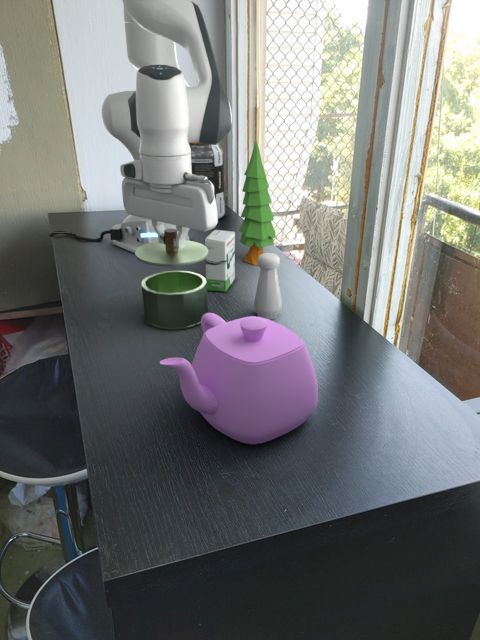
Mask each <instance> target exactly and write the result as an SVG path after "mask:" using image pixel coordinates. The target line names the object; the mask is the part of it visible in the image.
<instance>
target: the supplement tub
mask: <svg viewBox="0 0 480 640" xmlns="http://www.w3.org/2000/svg"><path fill="white" fill-rule="evenodd" d="M189 146H190V149H191V167H192V174H195V175H198V176H205V177H207V178H208V180H209V181H210V182H211V183H212V184H213V185H214V195H215V200H216V207H217V216H218V220H219V219H221V218H223V217H224V216H225V214H226V191H225V189H226V188H225V156H224V155H225V154H224V150H223V148H222V147H221V145H220V144H219V143H218V144H216V145H210V144H199V143H189ZM206 183H208V182H206Z"/></svg>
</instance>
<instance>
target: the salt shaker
mask: <svg viewBox="0 0 480 640" xmlns="http://www.w3.org/2000/svg"><path fill="white" fill-rule="evenodd" d="M280 263H281V259H280V256H279V255H277V254H276V253H274V252H273V253H272V252H263V254H261V255H260V256H259V258H258V265H257V266H258V267H259V268H260V271H259V276H258V281H257V285H256V286H257V287H256V290H255V291H256V292H255V297H254V301H253V309H254V310H255V313H256V314H257V317H262V318H266V319H269V320H276V318H277V317H278V315H279V313H280V312H281V310H282V306H283V301H282V294H281V287H280V280H279V275H278V268H279V267H280Z"/></svg>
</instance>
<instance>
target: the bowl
mask: <svg viewBox="0 0 480 640" xmlns="http://www.w3.org/2000/svg"><path fill="white" fill-rule="evenodd" d="M141 294H142V295H141V296H142V305H143V314H144V320H145V322H146V324H148V325H149V326H151V327H152V328H156V329H159V330H164V331H183V330H189V329H192V328H195V327H198V326H201V318H202V316H203V315H204V314H206V313H209V304H208V303H209V301H208V290H207V281H206V276H203V275H202V274H200V273H198V272H193V271H189V270H165V271H160V272H155V273H153V274H150V275H148V276H145V278H143V279H142V281H141Z"/></svg>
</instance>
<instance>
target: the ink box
mask: <svg viewBox="0 0 480 640" xmlns="http://www.w3.org/2000/svg"><path fill="white" fill-rule="evenodd" d="M204 246H206V247H207V249H208V256H207V257H206V258H205V259H204V261H205V278H206V281H207V291H212V292H213V291H214V292H225V293H226V292H227V291H228V289H230V286H231V285H232V284H233V283H234V281H235V279H236V277H235V276H236V274H235V273H236V272H235V270H236V269H235V268H236V264H235V263H236V261H235V260H236V259H235V258H236V256H235V254H236V253H235V252H236V232H235V231H231V230H230V231H229V230H222V229H221V230H220V229H214V230H213V231H212V232H210V233H209V234H208V235H207V236H206V237H205V239H204Z"/></svg>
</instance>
